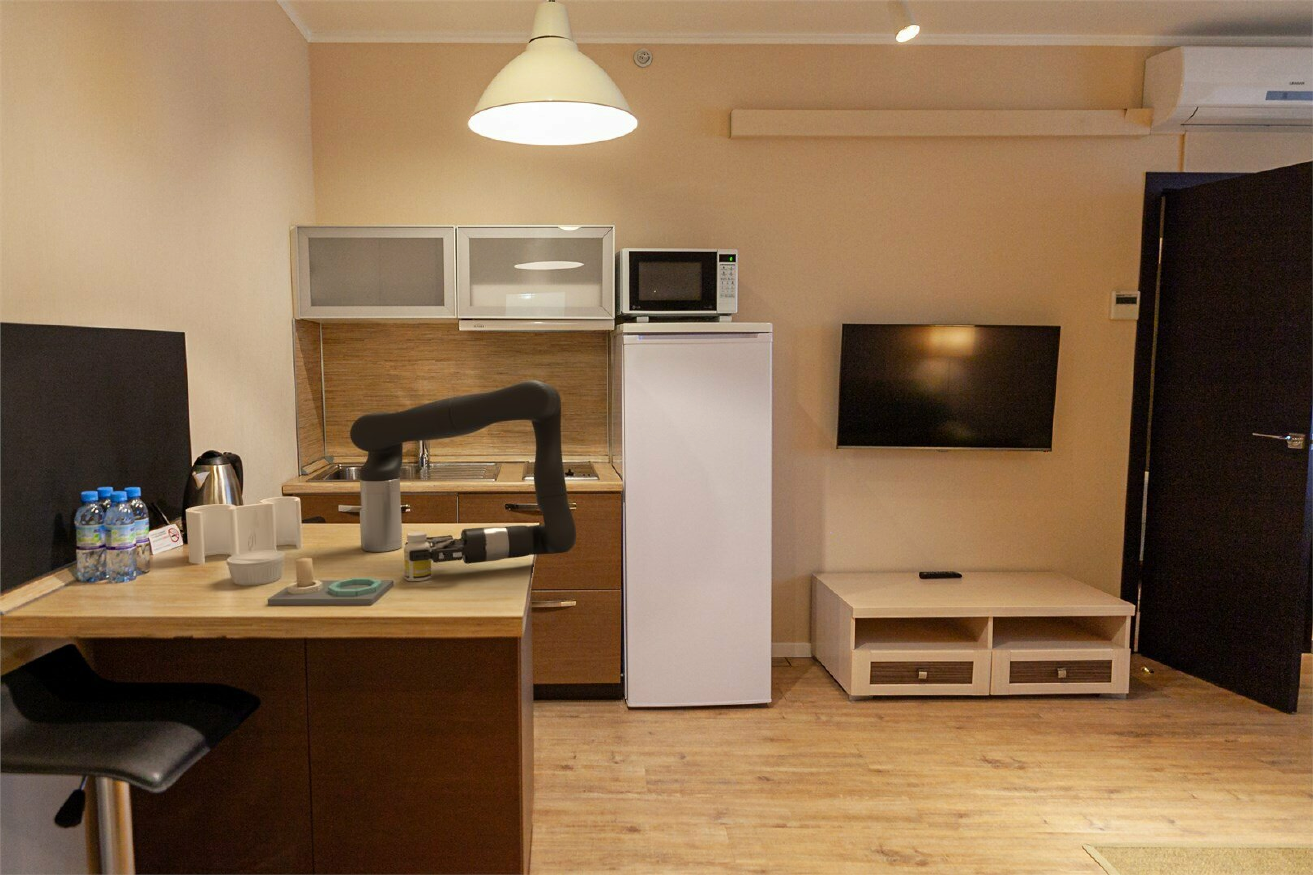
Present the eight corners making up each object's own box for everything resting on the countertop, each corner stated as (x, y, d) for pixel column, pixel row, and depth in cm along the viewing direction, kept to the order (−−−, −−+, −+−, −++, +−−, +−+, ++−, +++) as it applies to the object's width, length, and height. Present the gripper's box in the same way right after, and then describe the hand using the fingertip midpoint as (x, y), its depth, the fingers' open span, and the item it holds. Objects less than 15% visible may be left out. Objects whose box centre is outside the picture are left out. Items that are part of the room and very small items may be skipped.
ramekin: (228, 590, 172) (226, 565, 171) (227, 577, 182) (225, 553, 181) (287, 583, 177) (286, 558, 177) (284, 570, 187) (282, 547, 186)
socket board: (267, 605, 162) (265, 568, 161) (297, 586, 174) (295, 551, 174) (372, 604, 161) (370, 568, 161) (393, 585, 174) (392, 551, 174)
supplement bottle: (436, 576, 181) (435, 531, 180) (421, 583, 176) (420, 536, 175) (415, 574, 183) (413, 529, 182) (399, 580, 178) (398, 535, 177)
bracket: (294, 541, 215) (292, 494, 214) (307, 548, 208) (305, 500, 206) (184, 558, 199) (181, 507, 198) (194, 566, 191) (190, 513, 190)
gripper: (478, 521, 191) (402, 527, 184) (491, 534, 178) (410, 541, 171) (479, 554, 191) (404, 561, 185) (492, 569, 178) (411, 577, 172)
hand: (407, 551), depth 178 cm, fingers open, 7 cm apart
